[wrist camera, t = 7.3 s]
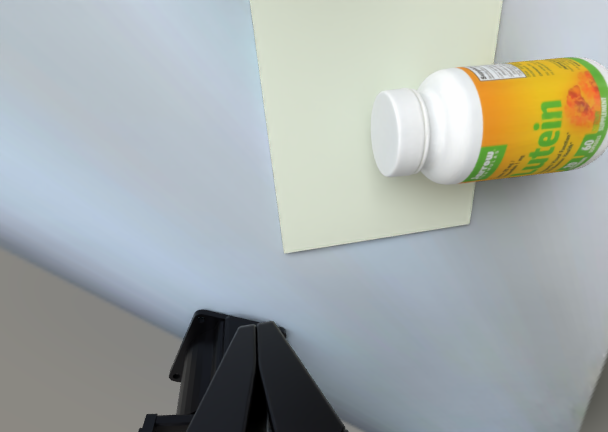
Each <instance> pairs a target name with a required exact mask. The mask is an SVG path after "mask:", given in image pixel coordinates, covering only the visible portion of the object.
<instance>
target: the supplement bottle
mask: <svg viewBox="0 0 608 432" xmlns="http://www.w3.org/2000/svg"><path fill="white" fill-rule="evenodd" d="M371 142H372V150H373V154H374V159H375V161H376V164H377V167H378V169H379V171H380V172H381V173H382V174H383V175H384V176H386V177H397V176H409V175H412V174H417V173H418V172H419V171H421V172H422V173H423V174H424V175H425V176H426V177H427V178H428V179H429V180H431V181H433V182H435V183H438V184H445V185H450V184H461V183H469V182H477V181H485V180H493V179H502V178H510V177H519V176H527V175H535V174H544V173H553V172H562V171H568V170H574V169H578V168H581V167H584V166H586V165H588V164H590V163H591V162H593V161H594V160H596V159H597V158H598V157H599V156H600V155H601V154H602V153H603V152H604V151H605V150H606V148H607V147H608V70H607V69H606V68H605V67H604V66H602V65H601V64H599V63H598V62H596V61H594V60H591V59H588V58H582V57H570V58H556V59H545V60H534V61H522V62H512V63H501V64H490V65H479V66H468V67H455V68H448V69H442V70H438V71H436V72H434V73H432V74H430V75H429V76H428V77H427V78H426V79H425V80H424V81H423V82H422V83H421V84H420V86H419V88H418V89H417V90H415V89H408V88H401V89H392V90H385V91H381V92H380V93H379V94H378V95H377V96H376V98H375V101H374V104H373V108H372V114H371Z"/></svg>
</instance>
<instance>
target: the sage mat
mask: <svg viewBox="0 0 608 432" xmlns="http://www.w3.org/2000/svg"><path fill="white" fill-rule="evenodd" d="M502 3H503V0H250V7H251V14H252V21H253V29H254V36H255V43H256V51H257V58H258V66H259V73H260V80H261V88H262V95H263V102H264V110H265V117H266V124H267V132H268V139H269V147H270V154H271V161H272V169H273V176H274V183H275V191H276V198H277V205H278V213H279V220H280V228H281V235H282V242H283V249H284V254H285V253H291V252H297V251H304V250H310V249H316V248H322V247H329V246H335V245H341V244H347V243H354V242H360V241H366V240H372V239H379V238H385V237H391V236H397V235H404V234H410V233H416V232H422V231H429V230H435V229H441V228H447V227H454V226H460V225H466V224H469V223H470V216H471V210H472V203H473V196H474V190H475V183H476V182H469V183H461V184H450V185H445V184H438V183H435V182H433V181H431V180H429V179H428V178H427V177H426V176H425V175H424V174H423V173H422V172H421V171H419V172H418V173H417V174H412V175H409V176H397V177H386V176H384V175H383V174H382V173H381V172H380V171H379V169H378V167H377V164H376V161H375V159H374V154H373V150H372V142H371V114H372V108H373V104H374V101H375V98H376V96H377V95H378V94H379V93H380V92H381V91H385V90H392V89H401V88H408V89H415V90H417V89H418V88H419V86H420V84H421V83H422V82H423V81H424V80H425V79H426V78H427V77H428V76H429V75H430V74H432V73H434V72H436V71H438V70H442V69H448V68H455V67H468V66H479V65H490V64H493V63H494V56H495V49H496V43H497V36H498V29H499V23H500V16H501V9H502Z"/></svg>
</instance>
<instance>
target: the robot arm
mask: <svg viewBox="0 0 608 432" xmlns="http://www.w3.org/2000/svg"><path fill="white" fill-rule="evenodd" d="M199 317H204V318H199ZM169 378H170V379H171V380H173V381H176V382H181V386H180V393H179V399H178V406H177V413H176V415H159V416H157V414H147V415H146V418H145V421H144V424H143V428H140V429H139V432H348V430H345V426H344V424H343V423H342V422H341V420H340V419H339V417H338V416H337V414H336V413H335V411H334V410H333V408H332V407H331V405H330V404H329V402H328V401H327V399H326V398H325V396H324V395H323V393H322V392H321V390H320V389H319V387H318V386H317V384H316V383H315V381H314V380H313V378H312V377H311V376H310V374H309V373H308V371H307V370H306V368H305V367H304V365H303V364H302V362H301V361H300V359H299V358H298V356H297V355H296V353H295V352H294V350H293V349H292V347H291V346H290V344H289V343H288V341H287V340H286V332H285V329H283V328H281V327H277V325H276V324H275V322H273V321H268V322H262V323H259V322H255V321H250V320H246V319H242V318H237V317H233V316H228V315H224V314H220V313H215V312H211V311H207V310H198V311H196V312H195V313H194V316H193V318H192V320H191V323H190V325H189V327H188V330H187V332H186V334H185V337H184V339H183V341H182V344H181V346H180V349H179V351H178V353H177V356H176V358H175V360H174V363H173V365H172V367H171V370H170V374H169Z"/></svg>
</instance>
